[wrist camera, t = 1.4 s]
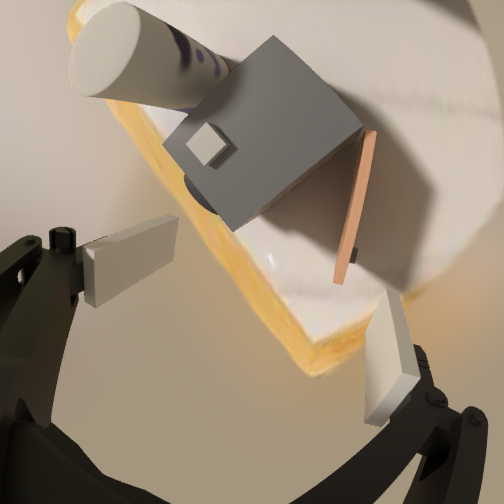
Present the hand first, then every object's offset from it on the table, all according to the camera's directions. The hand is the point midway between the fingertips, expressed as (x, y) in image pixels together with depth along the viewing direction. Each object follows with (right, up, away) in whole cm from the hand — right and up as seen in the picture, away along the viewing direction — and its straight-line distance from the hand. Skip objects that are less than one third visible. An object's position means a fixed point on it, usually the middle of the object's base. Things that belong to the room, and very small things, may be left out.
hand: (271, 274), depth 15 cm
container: (-9, +26, +22) cm, 35 cm away
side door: (+12, +8, +19) cm, 24 cm away
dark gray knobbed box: (+2, +15, +21) cm, 26 cm away
